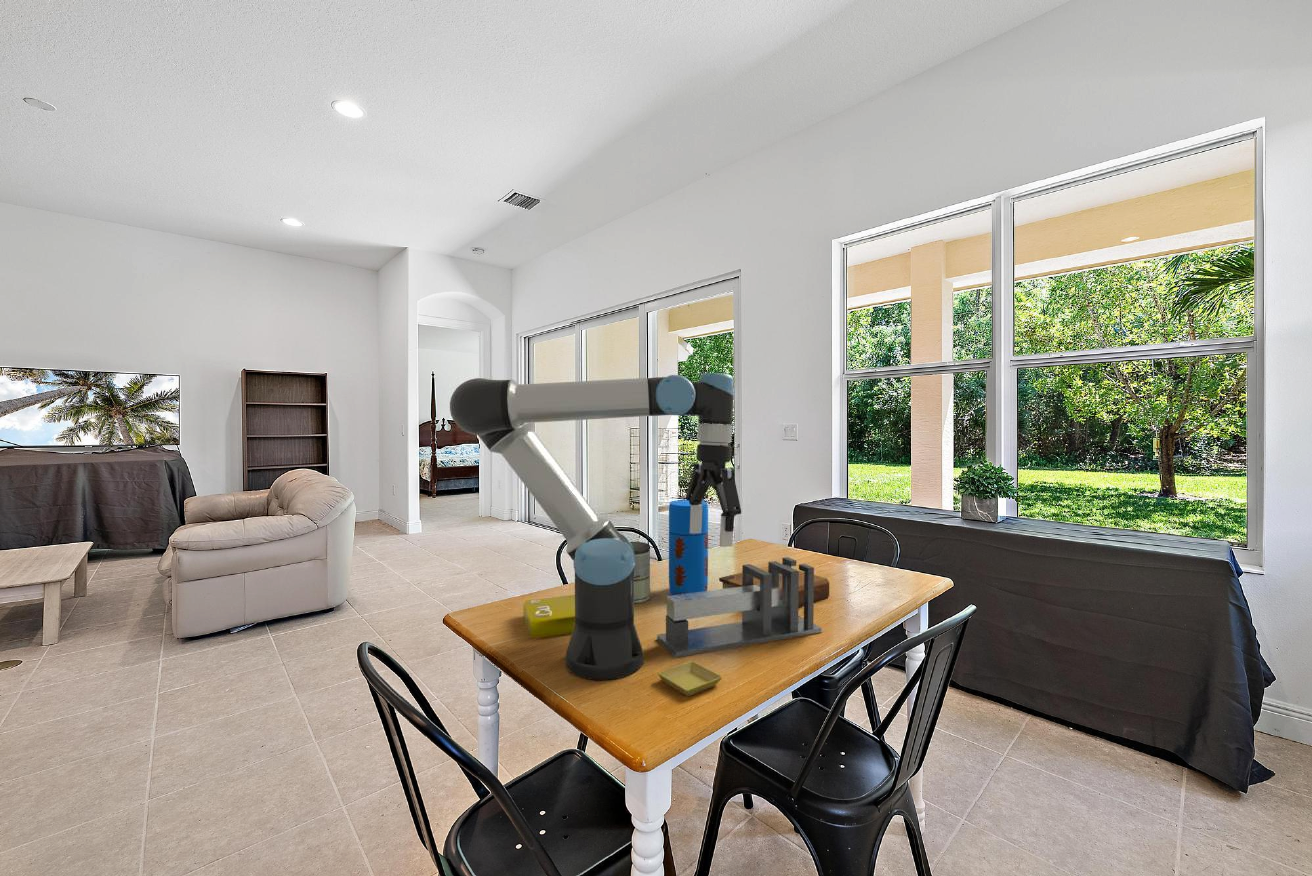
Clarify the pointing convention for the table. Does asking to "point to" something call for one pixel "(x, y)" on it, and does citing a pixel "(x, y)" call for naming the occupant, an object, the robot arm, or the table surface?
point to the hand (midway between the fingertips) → (709, 539)
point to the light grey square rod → (717, 602)
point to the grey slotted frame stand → (752, 615)
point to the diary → (819, 585)
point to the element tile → (550, 616)
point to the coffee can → (641, 571)
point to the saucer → (690, 678)
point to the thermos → (687, 550)
